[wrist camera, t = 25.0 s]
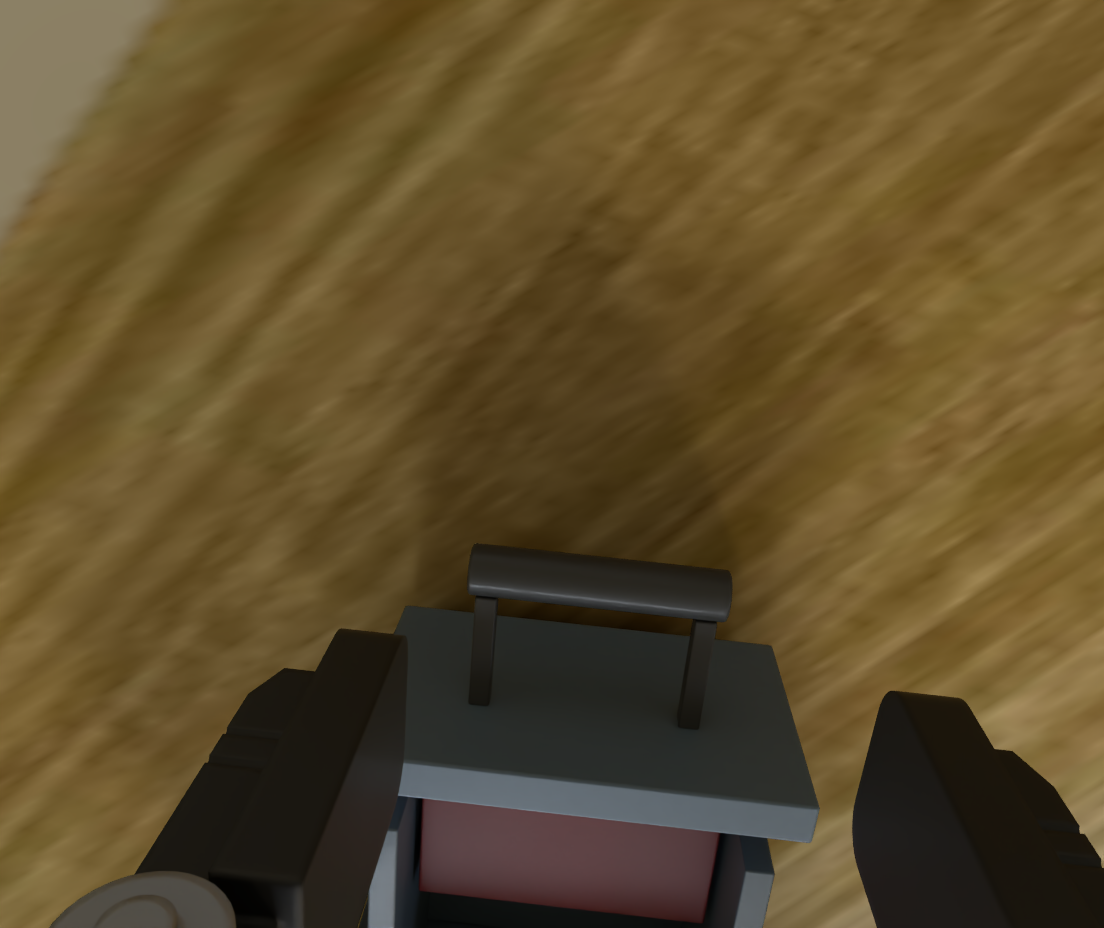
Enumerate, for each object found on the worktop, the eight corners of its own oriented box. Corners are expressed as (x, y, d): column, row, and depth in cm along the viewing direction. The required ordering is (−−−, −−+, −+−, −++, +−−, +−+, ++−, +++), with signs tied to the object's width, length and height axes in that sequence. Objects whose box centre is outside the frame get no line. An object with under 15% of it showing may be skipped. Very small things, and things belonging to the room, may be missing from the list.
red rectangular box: (440, 803, 33) (417, 892, 29) (444, 709, 31) (422, 789, 28) (693, 832, 32) (703, 925, 29) (710, 738, 31) (723, 823, 27)
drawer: (409, 469, 29) (343, 587, 22) (799, 510, 29) (861, 643, 22) (394, 906, 36) (339, 1106, 29) (712, 944, 36) (736, 1156, 28)
